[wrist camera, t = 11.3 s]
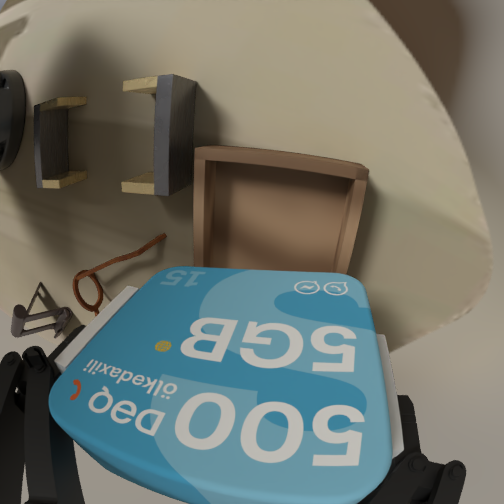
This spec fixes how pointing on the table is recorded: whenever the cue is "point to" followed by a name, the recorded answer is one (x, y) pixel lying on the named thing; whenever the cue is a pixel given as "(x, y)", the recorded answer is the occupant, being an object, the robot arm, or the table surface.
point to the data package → (235, 389)
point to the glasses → (90, 272)
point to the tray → (275, 210)
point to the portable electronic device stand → (23, 316)
